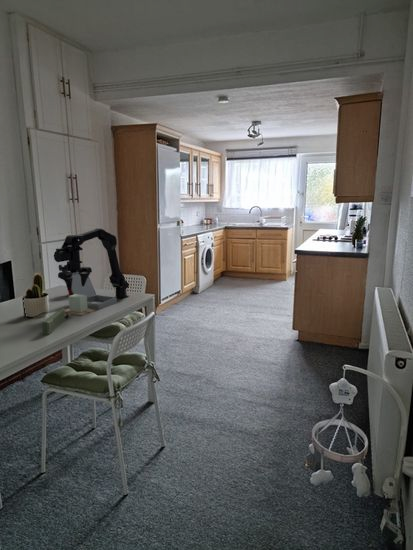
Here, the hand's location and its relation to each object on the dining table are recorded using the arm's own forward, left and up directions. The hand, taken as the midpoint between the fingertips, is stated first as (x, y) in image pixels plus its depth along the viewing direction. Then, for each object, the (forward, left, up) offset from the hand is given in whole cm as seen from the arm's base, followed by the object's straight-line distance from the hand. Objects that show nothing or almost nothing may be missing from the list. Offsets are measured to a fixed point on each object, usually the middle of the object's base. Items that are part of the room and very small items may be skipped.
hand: (76, 288), depth 198 cm
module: (0, 0, -12) cm, 12 cm away
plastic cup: (-26, -29, -13) cm, 41 cm away
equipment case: (-15, -3, -13) cm, 20 cm away
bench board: (0, 0, -13) cm, 13 cm away
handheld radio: (+21, +8, -13) cm, 26 cm away
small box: (+13, -17, -13) cm, 25 cm away
